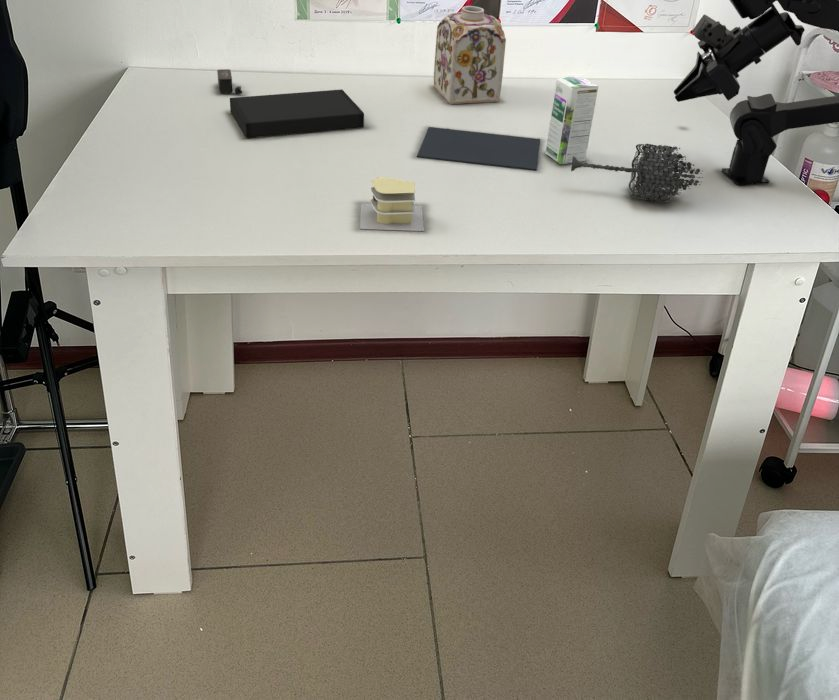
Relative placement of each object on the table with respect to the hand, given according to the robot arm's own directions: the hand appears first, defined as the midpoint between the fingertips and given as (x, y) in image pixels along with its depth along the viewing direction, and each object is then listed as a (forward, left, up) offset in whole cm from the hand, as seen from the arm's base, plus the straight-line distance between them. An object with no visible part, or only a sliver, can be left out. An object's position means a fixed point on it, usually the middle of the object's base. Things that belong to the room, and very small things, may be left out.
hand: (675, 96), depth 160 cm
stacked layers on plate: (-14, +54, -14) cm, 57 cm away
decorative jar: (+42, +26, -14) cm, 51 cm away
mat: (+13, +31, -14) cm, 36 cm away
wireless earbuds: (+48, +76, -14) cm, 91 cm away
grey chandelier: (-11, +10, -14) cm, 20 cm away
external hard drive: (+30, +64, -14) cm, 72 cm away
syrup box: (+7, +16, -14) cm, 22 cm away
